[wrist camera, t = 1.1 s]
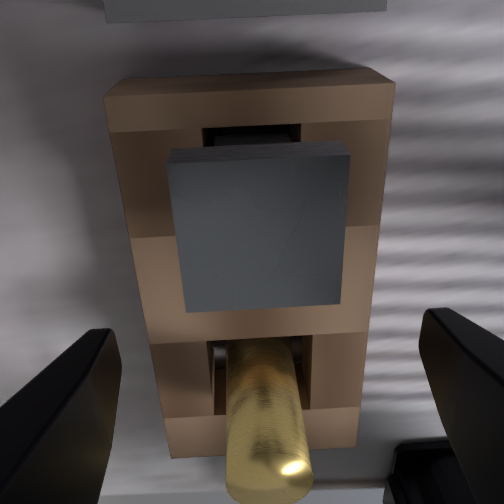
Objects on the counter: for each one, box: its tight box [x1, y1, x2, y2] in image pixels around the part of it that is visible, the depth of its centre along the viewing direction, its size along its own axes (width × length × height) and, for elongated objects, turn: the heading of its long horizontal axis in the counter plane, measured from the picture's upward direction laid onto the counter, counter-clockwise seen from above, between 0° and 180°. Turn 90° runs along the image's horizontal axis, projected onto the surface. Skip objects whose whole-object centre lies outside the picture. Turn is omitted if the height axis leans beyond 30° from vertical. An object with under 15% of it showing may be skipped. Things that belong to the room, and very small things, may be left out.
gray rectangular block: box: [166, 133, 351, 313], centre depth 14 cm, size 4×4×5 cm
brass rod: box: [226, 336, 314, 504], centre depth 20 cm, size 3×3×8 cm
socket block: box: [103, 68, 395, 459], centre depth 20 cm, size 9×17×3 cm, turn 2°
